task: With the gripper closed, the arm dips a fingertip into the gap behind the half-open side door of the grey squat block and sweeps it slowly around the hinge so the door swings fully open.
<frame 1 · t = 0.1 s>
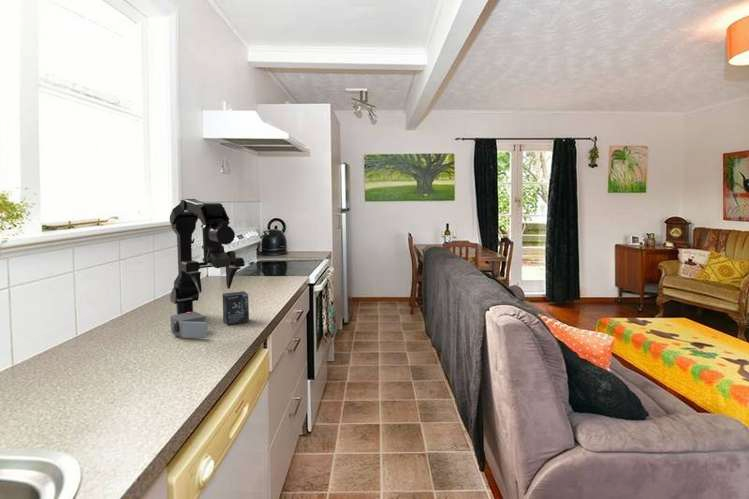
hand: (214, 290, 139), 15 cm above the countertop, fingers open, 9 cm apart
box: (236, 322, 155), on the countertop
grey squat block: (188, 332, 143), on the countertop
side door: (193, 329, 135), point 3 cm above the countertop, hinge at 50.0°
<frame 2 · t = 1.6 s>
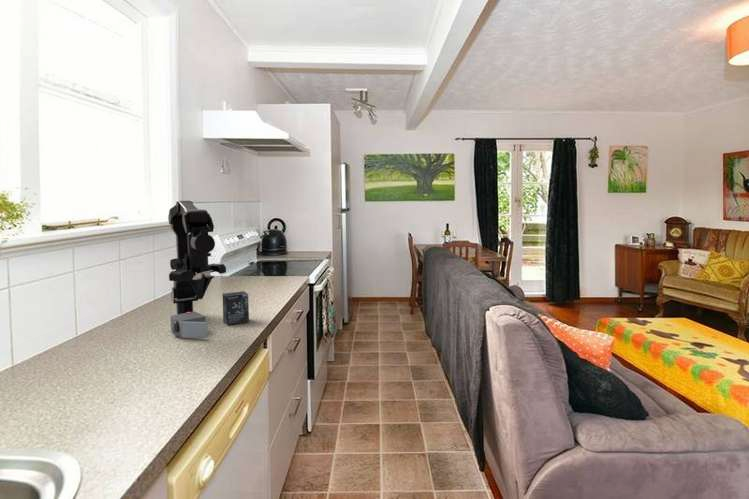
hand: (200, 298, 136), 12 cm above the countertop, fingers closed
nothing on the countertop moved.
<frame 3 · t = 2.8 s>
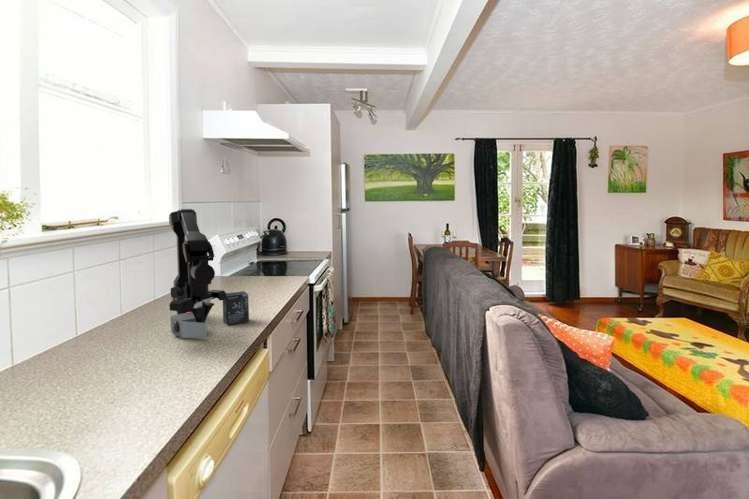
hand: (200, 326, 136), 4 cm above the countertop, fingers closed
side door: (193, 330, 135), point 3 cm above the countertop, hinge at 51.6°, touching gripper
everything else where it was.
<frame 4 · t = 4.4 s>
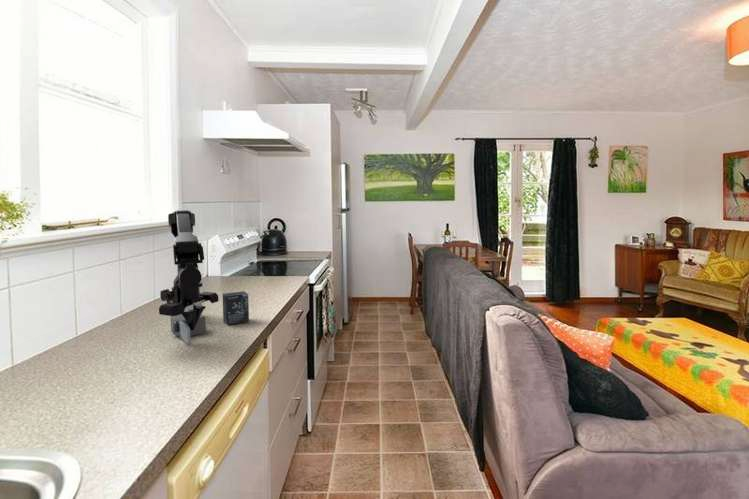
hand: (192, 330, 133), 4 cm above the countertop, fingers closed
side door: (184, 332, 133), point 3 cm above the countertop, hinge at 95.2°, touching gripper
everything else where it was.
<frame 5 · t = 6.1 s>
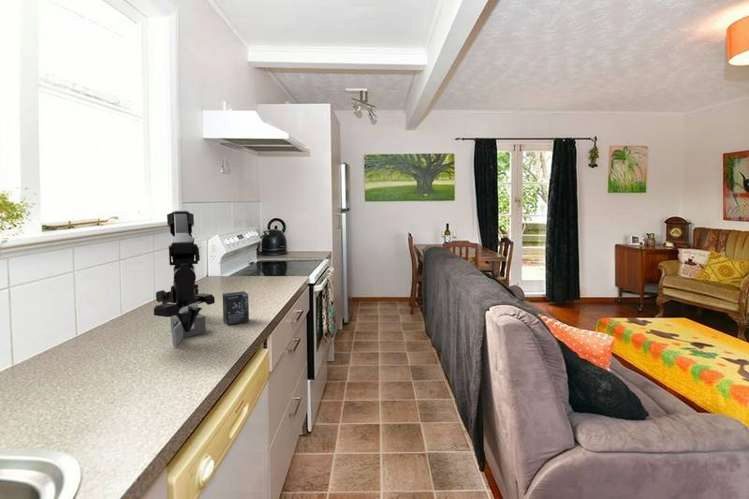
hand: (187, 331, 132), 3 cm above the countertop, fingers closed
side door: (178, 333, 132), point 3 cm above the countertop, hinge at 123.8°
everything else where it was.
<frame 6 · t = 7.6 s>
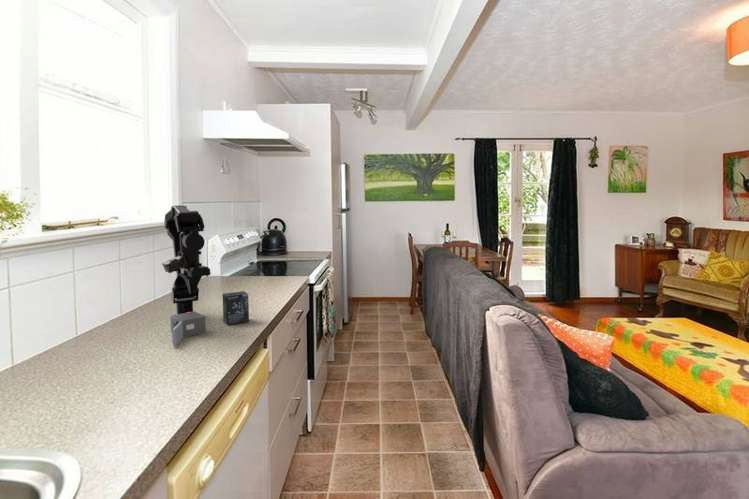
hand: (192, 293, 146), 12 cm above the countertop, fingers closed
nothing on the countertop moved.
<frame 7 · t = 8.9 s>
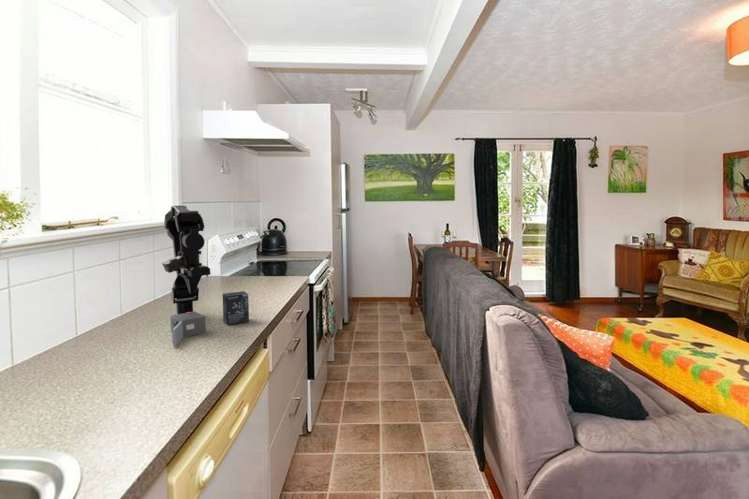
hand: (192, 293, 146), 12 cm above the countertop, fingers closed
nothing on the countertop moved.
at the end: side door at +124° (first picture: +50°) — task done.
